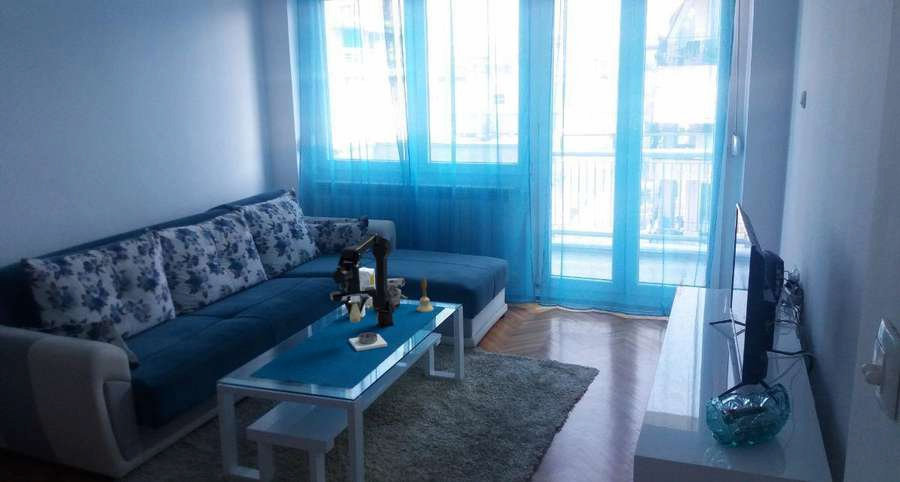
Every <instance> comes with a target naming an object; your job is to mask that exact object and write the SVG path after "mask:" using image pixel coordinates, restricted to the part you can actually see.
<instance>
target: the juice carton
mask: <svg viewBox="0 0 900 482" xmlns="http://www.w3.org/2000/svg"><path fill="white" fill-rule="evenodd" d="M375 276H376V273H375V268H369V267H364V266H363V267H359V277H360V290H361V291H362V290H365V288H367V287H374V288H375V289H376V277H375ZM368 297H369V299H367V300H366V302H365V309H370V308H373V305H372V297H370V296H368Z"/></svg>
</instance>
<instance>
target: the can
mask: <svg viewBox="0 0 900 482" xmlns="http://www.w3.org/2000/svg"><path fill="white" fill-rule="evenodd" d="M360 291H361V290H360ZM357 294H358V293H357ZM349 298H350V302H351V301H359V302H360V298H359V296H351V297H349ZM365 316H366V308H365V304H364V307H363V309H362V312H361V313H360V318H364V317H365Z"/></svg>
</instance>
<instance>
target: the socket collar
mask: <svg viewBox="0 0 900 482" xmlns="http://www.w3.org/2000/svg"><path fill="white" fill-rule="evenodd" d="M376 334H377V333H376V332H369V331H368V332H362V333H360V334H359V335H357V337H358V342H359V343H360V344H373V343H375V342H377V341H378V340H377V335H376Z"/></svg>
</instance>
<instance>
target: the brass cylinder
mask: <svg viewBox="0 0 900 482" xmlns="http://www.w3.org/2000/svg"><path fill="white" fill-rule="evenodd" d="M349 307H350V315H349V321H350V322H351V323H359V322H361V321H362V319H361V318H360V302H359V301H351V300H350V301H349Z"/></svg>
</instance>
